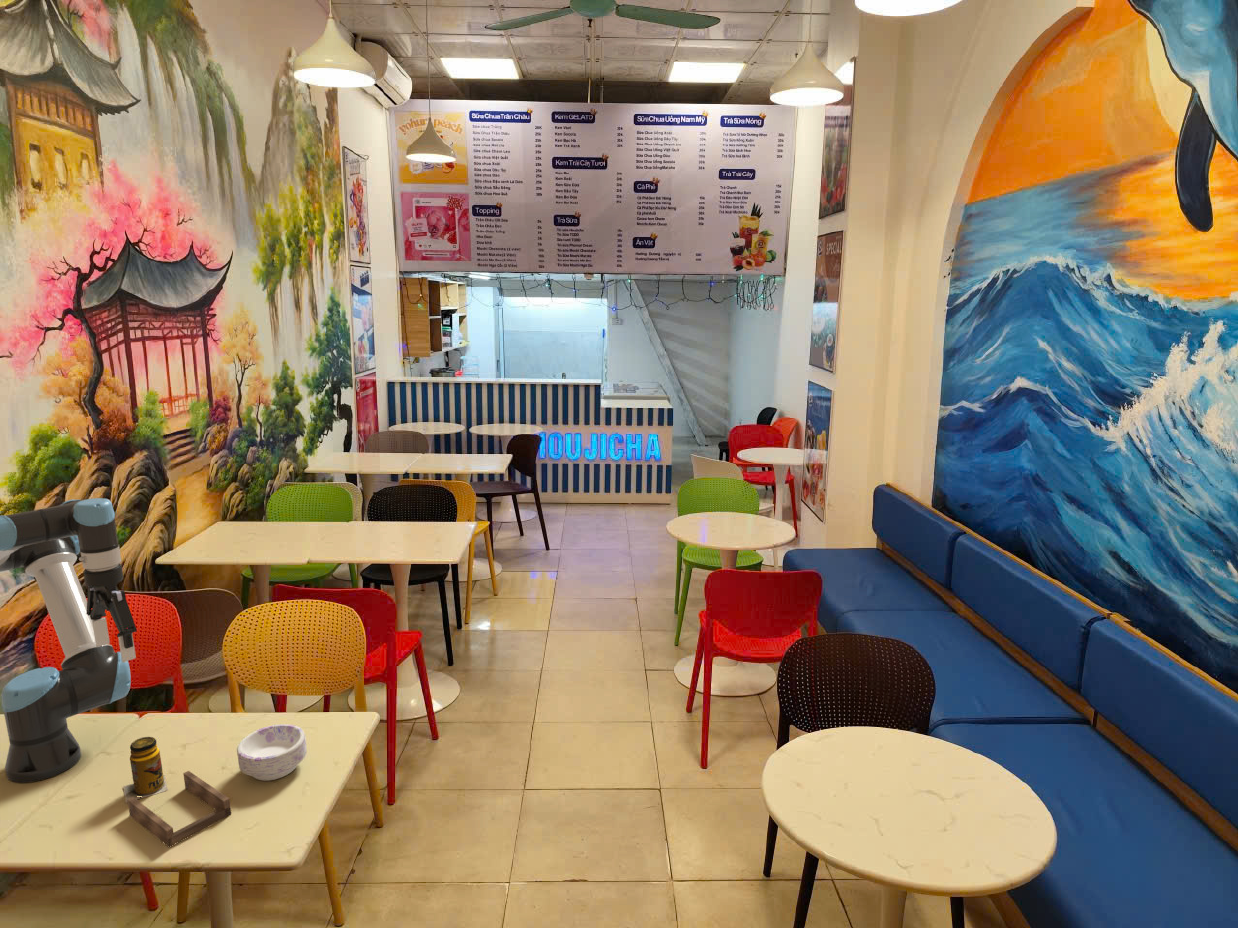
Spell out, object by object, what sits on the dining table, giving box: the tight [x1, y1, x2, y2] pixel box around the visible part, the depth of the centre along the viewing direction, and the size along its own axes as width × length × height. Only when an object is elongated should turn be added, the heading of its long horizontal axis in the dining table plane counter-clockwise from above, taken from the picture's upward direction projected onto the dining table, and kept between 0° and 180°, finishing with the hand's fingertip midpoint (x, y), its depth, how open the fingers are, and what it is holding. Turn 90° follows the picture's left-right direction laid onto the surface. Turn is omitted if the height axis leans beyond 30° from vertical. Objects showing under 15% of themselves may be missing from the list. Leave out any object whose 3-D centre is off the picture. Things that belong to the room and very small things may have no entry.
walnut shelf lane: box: [127, 770, 232, 848], centre depth 181 cm, size 18×13×4 cm
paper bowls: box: [236, 723, 308, 782], centre depth 197 cm, size 15×15×8 cm
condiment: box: [122, 736, 169, 804], centre depth 189 cm, size 7×8×12 cm
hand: (115, 652), depth 192 cm, fingers open, 13 cm apart
